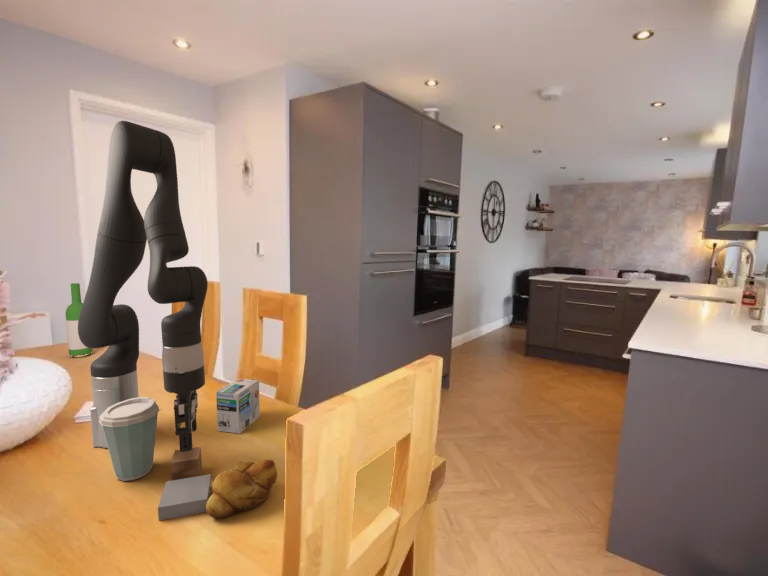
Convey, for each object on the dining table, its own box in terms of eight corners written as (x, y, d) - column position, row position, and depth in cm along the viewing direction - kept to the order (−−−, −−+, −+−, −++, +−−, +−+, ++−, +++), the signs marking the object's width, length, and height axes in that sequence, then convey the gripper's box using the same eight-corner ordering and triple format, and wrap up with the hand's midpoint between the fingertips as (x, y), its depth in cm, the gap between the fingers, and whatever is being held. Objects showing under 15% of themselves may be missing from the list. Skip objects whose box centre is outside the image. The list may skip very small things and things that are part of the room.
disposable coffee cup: (119, 494, 78) (113, 421, 76) (93, 476, 83) (87, 407, 82) (172, 468, 87) (168, 402, 85) (145, 453, 92) (141, 391, 90)
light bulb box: (240, 434, 102) (238, 394, 101) (216, 431, 103) (214, 391, 102) (260, 416, 112) (260, 379, 111) (239, 413, 114) (238, 377, 112)
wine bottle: (74, 359, 160) (68, 285, 156) (65, 356, 164) (59, 283, 160) (96, 354, 167) (90, 283, 163) (87, 351, 171) (81, 282, 167)
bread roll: (214, 532, 68) (212, 489, 67) (196, 504, 75) (194, 464, 74) (282, 500, 77) (282, 461, 76) (260, 477, 84) (259, 441, 83)
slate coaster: (158, 520, 71) (157, 507, 70) (167, 493, 78) (166, 481, 78) (207, 511, 73) (207, 498, 73) (211, 485, 81) (210, 474, 81)
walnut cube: (172, 485, 81) (170, 462, 80) (176, 472, 85) (175, 450, 85) (199, 481, 82) (198, 458, 82) (201, 468, 87) (200, 446, 86)
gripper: (168, 357, 87) (174, 428, 89) (156, 378, 73) (162, 461, 75) (206, 353, 89) (210, 422, 91) (200, 373, 76) (205, 454, 78)
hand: (188, 440), depth 83 cm, fingers open, 8 cm apart
